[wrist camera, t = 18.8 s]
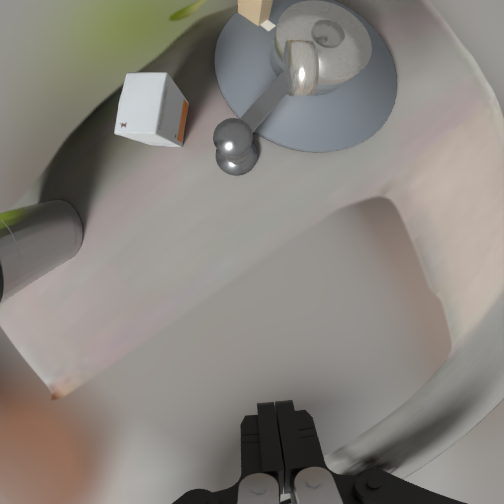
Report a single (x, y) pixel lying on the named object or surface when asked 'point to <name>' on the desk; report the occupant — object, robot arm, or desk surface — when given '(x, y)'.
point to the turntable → (302, 107)
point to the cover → (324, 41)
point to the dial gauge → (266, 107)
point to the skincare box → (152, 109)
